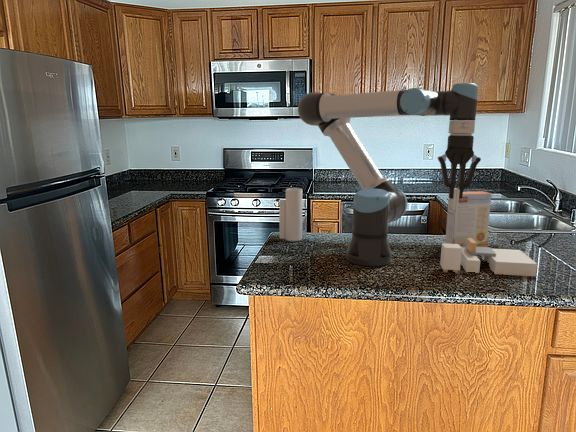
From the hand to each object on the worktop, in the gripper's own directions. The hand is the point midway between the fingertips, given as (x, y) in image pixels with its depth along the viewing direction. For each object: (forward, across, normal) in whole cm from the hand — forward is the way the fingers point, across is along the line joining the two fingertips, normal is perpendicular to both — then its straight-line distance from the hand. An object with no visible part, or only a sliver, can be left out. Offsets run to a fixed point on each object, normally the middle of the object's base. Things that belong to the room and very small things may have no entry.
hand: (454, 208), depth 141 cm
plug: (+18, -2, -9) cm, 21 cm away
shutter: (+14, +9, 0) cm, 17 cm away
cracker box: (+19, +9, +20) cm, 29 cm away
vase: (+19, -58, +21) cm, 64 cm away
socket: (+18, +13, -2) cm, 23 cm away
